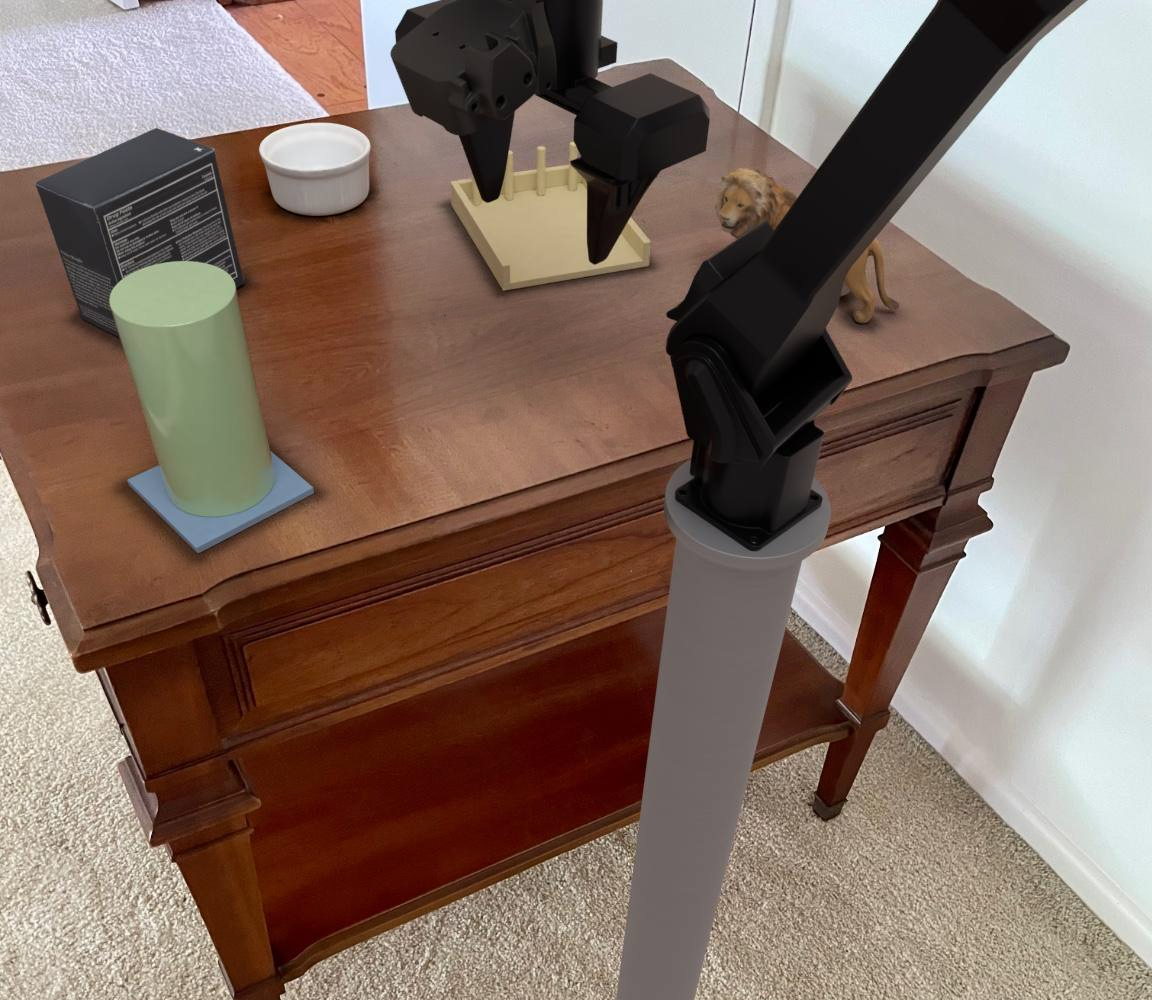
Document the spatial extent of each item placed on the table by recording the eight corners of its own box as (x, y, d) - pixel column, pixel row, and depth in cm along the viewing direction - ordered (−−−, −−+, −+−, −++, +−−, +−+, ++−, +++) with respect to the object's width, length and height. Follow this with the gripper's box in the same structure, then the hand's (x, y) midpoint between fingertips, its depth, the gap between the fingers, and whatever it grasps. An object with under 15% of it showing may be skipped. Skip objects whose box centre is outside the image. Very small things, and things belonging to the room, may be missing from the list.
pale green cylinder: (265, 440, 71) (225, 252, 62) (284, 504, 67) (244, 314, 58) (160, 460, 70) (103, 270, 60) (173, 527, 66) (114, 335, 56)
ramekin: (267, 174, 97) (258, 124, 94) (371, 168, 98) (366, 118, 95) (268, 225, 91) (258, 173, 88) (379, 217, 92) (374, 166, 89)
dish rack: (649, 266, 88) (654, 211, 85) (503, 291, 85) (502, 234, 82) (585, 185, 97) (587, 132, 94) (451, 205, 94) (448, 151, 91)
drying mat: (314, 493, 69) (313, 487, 68) (197, 554, 65) (195, 548, 65) (243, 431, 73) (241, 425, 72) (128, 485, 69) (126, 479, 68)
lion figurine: (698, 295, 86) (712, 182, 79) (713, 261, 89) (728, 150, 83) (893, 331, 83) (924, 217, 77) (901, 295, 87) (931, 182, 80)
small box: (188, 257, 87) (155, 122, 80) (248, 284, 85) (221, 147, 77) (75, 318, 81) (28, 177, 73) (137, 349, 79) (95, 207, 71)
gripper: (295, -88, 55) (333, 212, 66) (556, 28, 46) (549, 352, 57) (471, -126, 60) (479, 157, 72) (735, -29, 52) (696, 277, 63)
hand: (542, 229), depth 66 cm, fingers open, 9 cm apart
